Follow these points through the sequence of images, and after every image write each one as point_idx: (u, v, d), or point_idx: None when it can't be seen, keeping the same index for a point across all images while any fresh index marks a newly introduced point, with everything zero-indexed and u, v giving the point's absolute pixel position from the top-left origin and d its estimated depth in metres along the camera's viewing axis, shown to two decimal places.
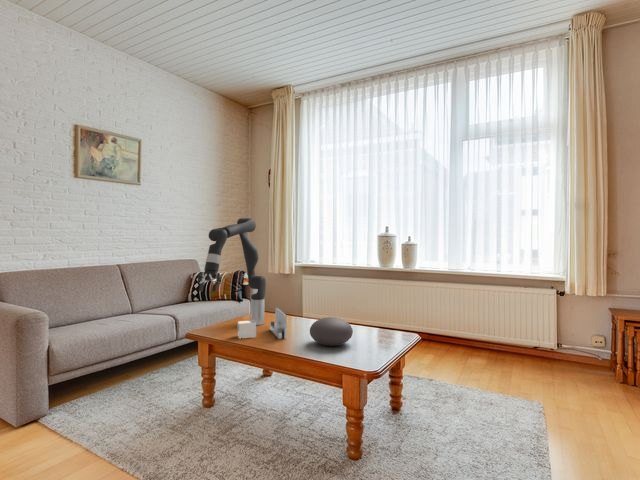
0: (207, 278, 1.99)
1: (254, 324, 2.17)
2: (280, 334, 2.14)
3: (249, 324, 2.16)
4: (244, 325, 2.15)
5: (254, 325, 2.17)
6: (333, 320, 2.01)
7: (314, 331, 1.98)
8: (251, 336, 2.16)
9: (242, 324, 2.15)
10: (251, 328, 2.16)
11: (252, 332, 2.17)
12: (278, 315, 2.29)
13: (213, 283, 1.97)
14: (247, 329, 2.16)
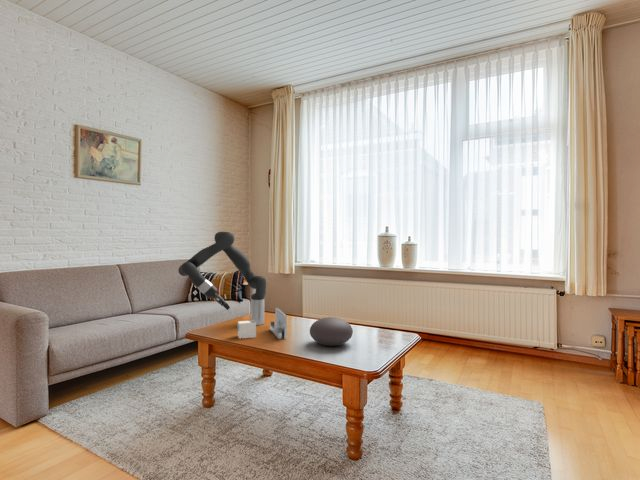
0: None
1: (254, 324, 2.17)
2: (280, 334, 2.14)
3: (249, 324, 2.16)
4: (244, 325, 2.15)
5: (254, 325, 2.17)
6: (333, 320, 2.01)
7: (314, 331, 1.98)
8: (251, 336, 2.16)
9: (242, 324, 2.15)
10: (251, 328, 2.16)
11: (252, 332, 2.17)
12: (278, 315, 2.29)
13: None
14: (247, 329, 2.16)
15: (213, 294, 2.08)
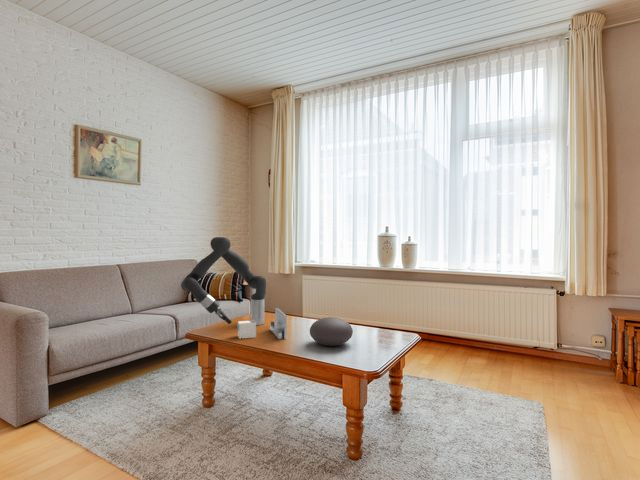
0: None
1: (254, 324, 2.17)
2: (280, 334, 2.14)
3: (249, 324, 2.16)
4: (244, 325, 2.15)
5: (254, 325, 2.17)
6: (333, 320, 2.01)
7: (314, 331, 1.98)
8: (251, 336, 2.16)
9: (242, 324, 2.15)
10: (251, 328, 2.16)
11: (252, 332, 2.17)
12: (278, 315, 2.29)
13: None
14: (247, 329, 2.16)
15: (215, 309, 2.08)
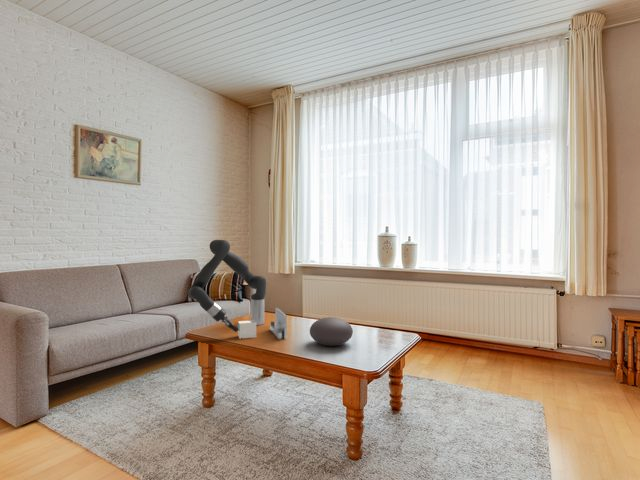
0: None
1: (254, 324, 2.17)
2: (280, 334, 2.14)
3: (249, 324, 2.16)
4: (244, 325, 2.15)
5: (254, 325, 2.17)
6: (333, 320, 2.01)
7: (314, 331, 1.98)
8: (251, 336, 2.17)
9: (242, 324, 2.15)
10: (251, 328, 2.16)
11: (252, 332, 2.17)
12: (278, 315, 2.29)
13: None
14: (247, 329, 2.16)
15: (222, 317, 2.10)
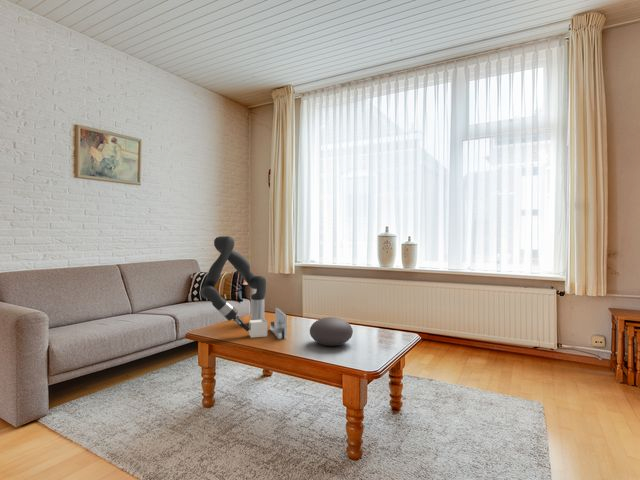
0: None
1: (265, 323, 2.19)
2: (280, 334, 2.14)
3: (261, 323, 2.18)
4: (256, 324, 2.17)
5: (265, 324, 2.19)
6: (333, 320, 2.01)
7: (314, 331, 1.98)
8: (263, 335, 2.19)
9: (254, 323, 2.17)
10: (263, 327, 2.19)
11: (263, 331, 2.19)
12: (278, 315, 2.29)
13: None
14: (259, 328, 2.18)
15: (234, 317, 2.12)
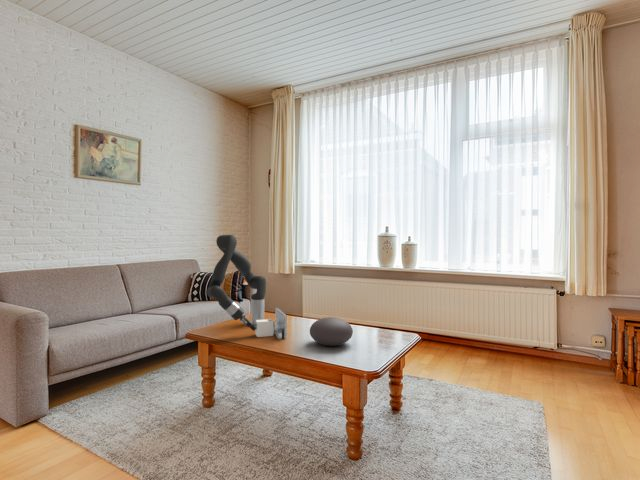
0: None
1: (272, 323, 2.21)
2: (280, 334, 2.14)
3: (267, 323, 2.19)
4: (262, 324, 2.18)
5: (272, 323, 2.21)
6: (333, 320, 2.01)
7: (314, 331, 1.98)
8: (269, 334, 2.20)
9: (260, 323, 2.18)
10: (269, 327, 2.20)
11: (269, 331, 2.20)
12: (278, 315, 2.29)
13: None
14: (265, 328, 2.19)
15: (240, 316, 2.13)
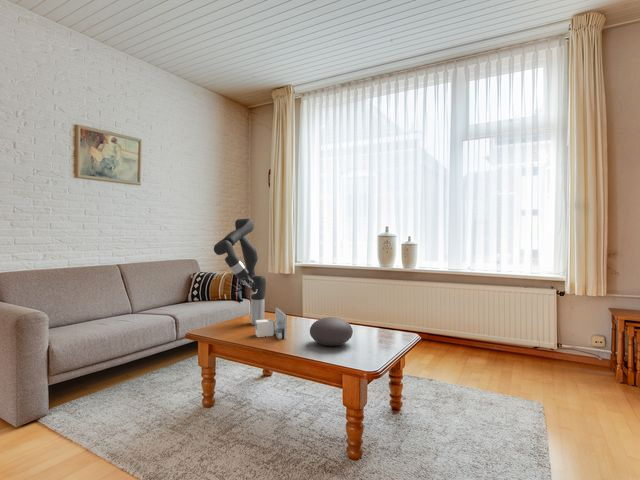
0: None
1: (272, 323, 2.21)
2: (280, 334, 2.14)
3: (267, 323, 2.19)
4: (262, 324, 2.18)
5: (272, 324, 2.21)
6: (333, 320, 2.01)
7: (314, 331, 1.98)
8: (269, 335, 2.20)
9: (260, 323, 2.18)
10: (269, 327, 2.20)
11: (269, 331, 2.20)
12: (278, 315, 2.29)
13: (249, 286, 2.17)
14: (265, 328, 2.19)
15: (246, 275, 2.13)
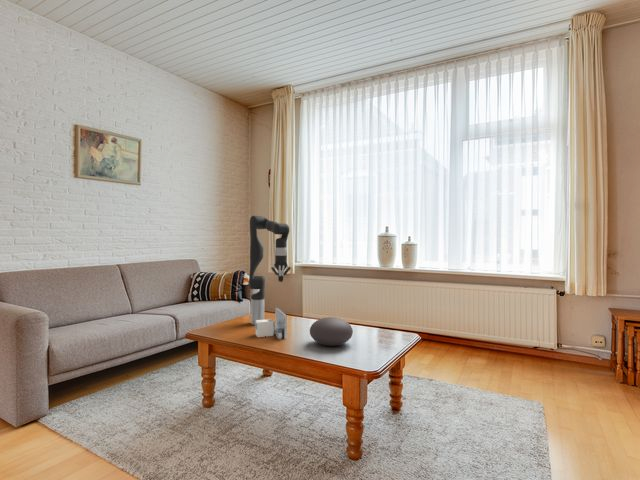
0: None
1: (272, 323, 2.21)
2: (280, 334, 2.14)
3: (267, 323, 2.19)
4: (262, 324, 2.18)
5: (272, 324, 2.21)
6: (333, 320, 2.01)
7: (314, 331, 1.98)
8: (269, 335, 2.20)
9: (260, 323, 2.18)
10: (269, 327, 2.20)
11: (269, 331, 2.20)
12: (278, 315, 2.29)
13: (281, 274, 2.29)
14: (265, 328, 2.19)
15: None
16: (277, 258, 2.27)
